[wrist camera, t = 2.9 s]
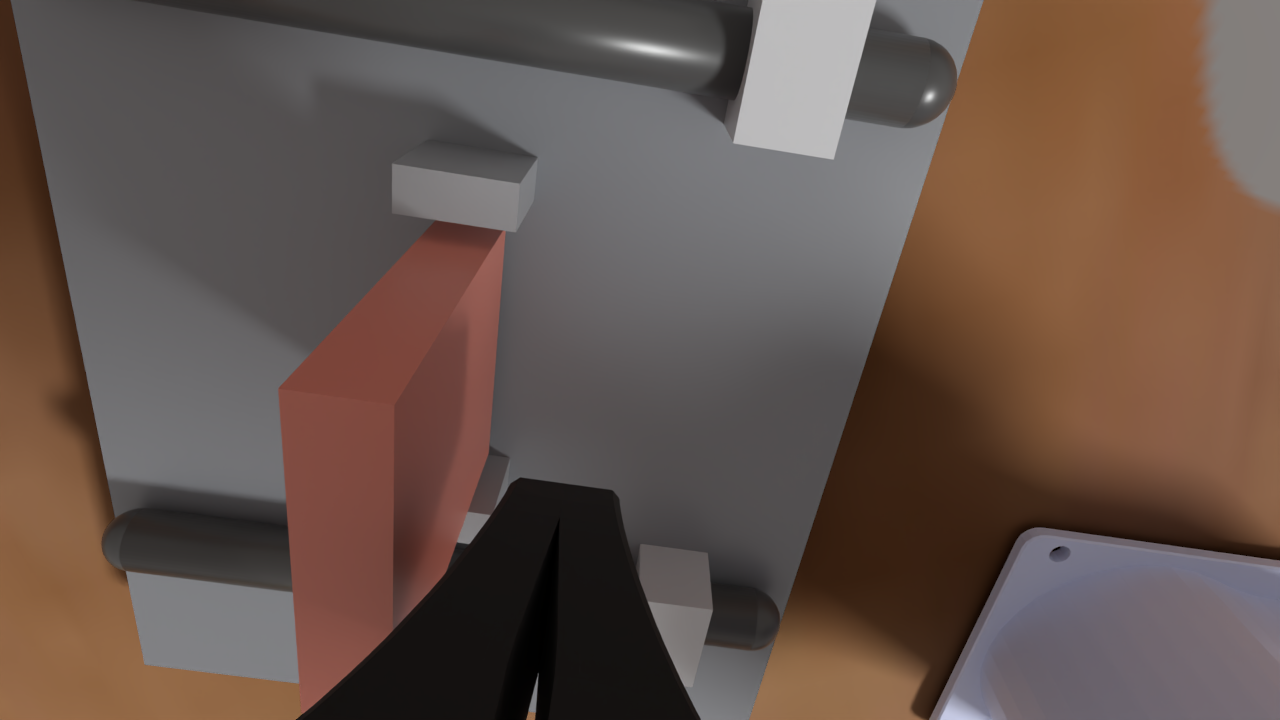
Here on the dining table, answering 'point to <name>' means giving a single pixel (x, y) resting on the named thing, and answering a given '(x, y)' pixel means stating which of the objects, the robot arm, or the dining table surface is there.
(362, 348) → the lever
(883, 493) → the dining table surface
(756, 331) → the box
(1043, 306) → the dining table surface
